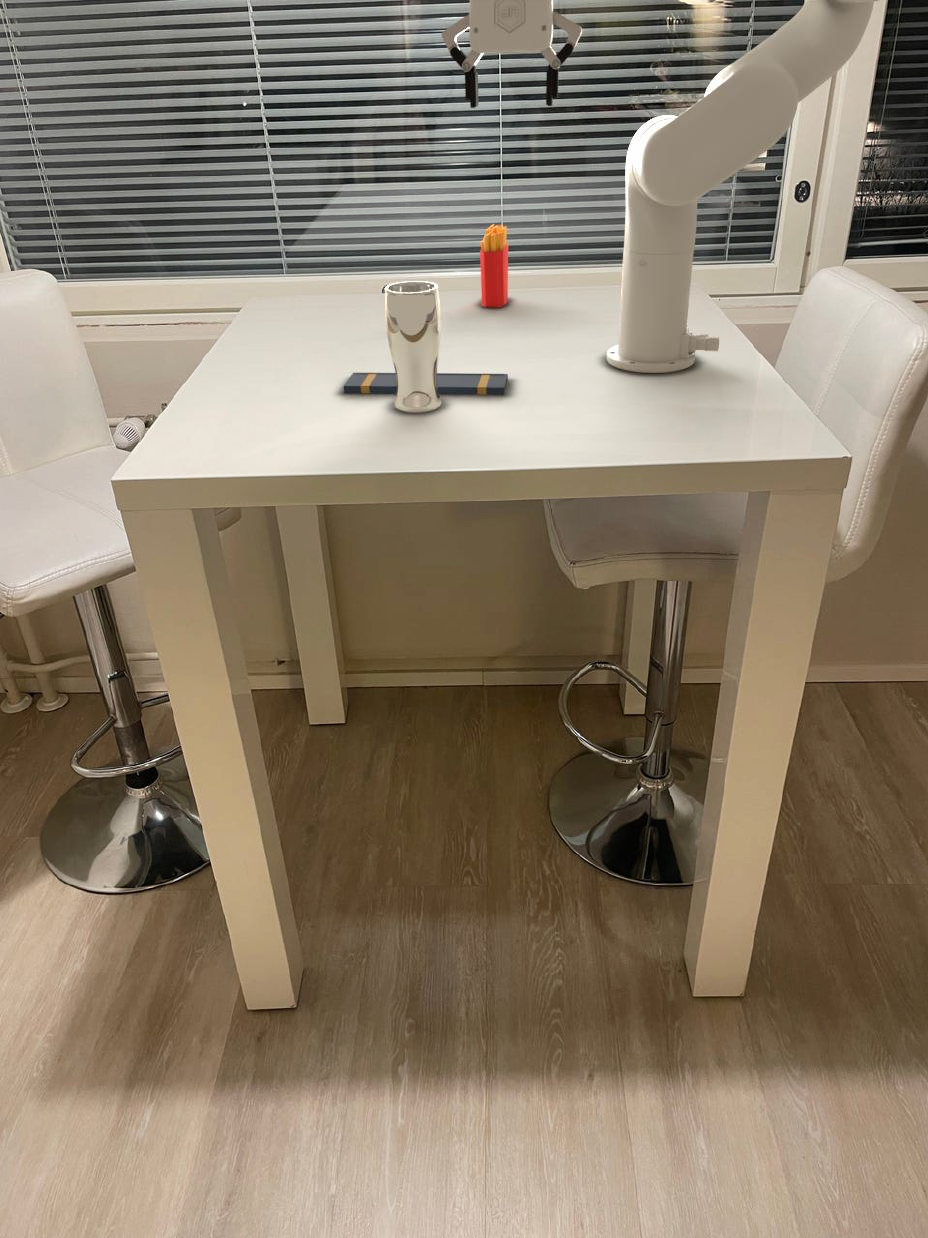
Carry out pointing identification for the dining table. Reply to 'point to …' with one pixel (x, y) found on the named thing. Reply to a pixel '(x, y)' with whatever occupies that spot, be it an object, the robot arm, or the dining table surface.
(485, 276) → the french fries
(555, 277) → the dining table surface
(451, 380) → the blue striped flat box
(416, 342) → the beer glass
